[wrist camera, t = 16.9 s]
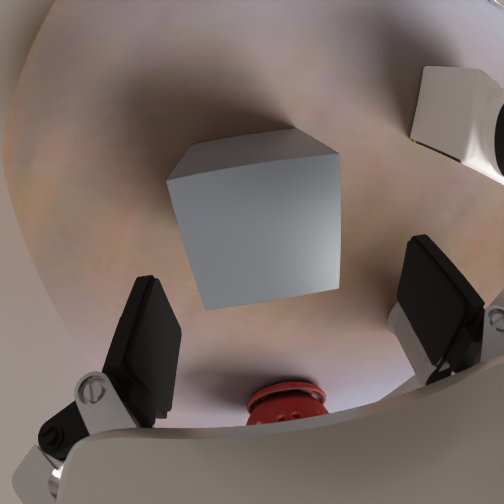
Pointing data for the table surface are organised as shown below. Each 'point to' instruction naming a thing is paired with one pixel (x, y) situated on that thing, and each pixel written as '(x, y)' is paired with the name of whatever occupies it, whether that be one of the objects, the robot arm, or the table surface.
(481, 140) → the medicine bottle
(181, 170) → the gray cube
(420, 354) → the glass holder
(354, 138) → the table surface
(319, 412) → the plant pot
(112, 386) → the robot arm
